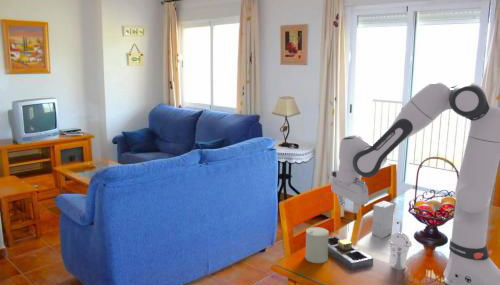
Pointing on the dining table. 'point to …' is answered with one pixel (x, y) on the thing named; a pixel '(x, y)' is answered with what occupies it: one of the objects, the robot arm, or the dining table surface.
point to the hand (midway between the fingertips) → (348, 208)
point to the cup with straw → (399, 248)
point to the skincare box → (382, 219)
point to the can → (316, 245)
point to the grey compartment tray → (349, 255)
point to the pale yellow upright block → (344, 245)
